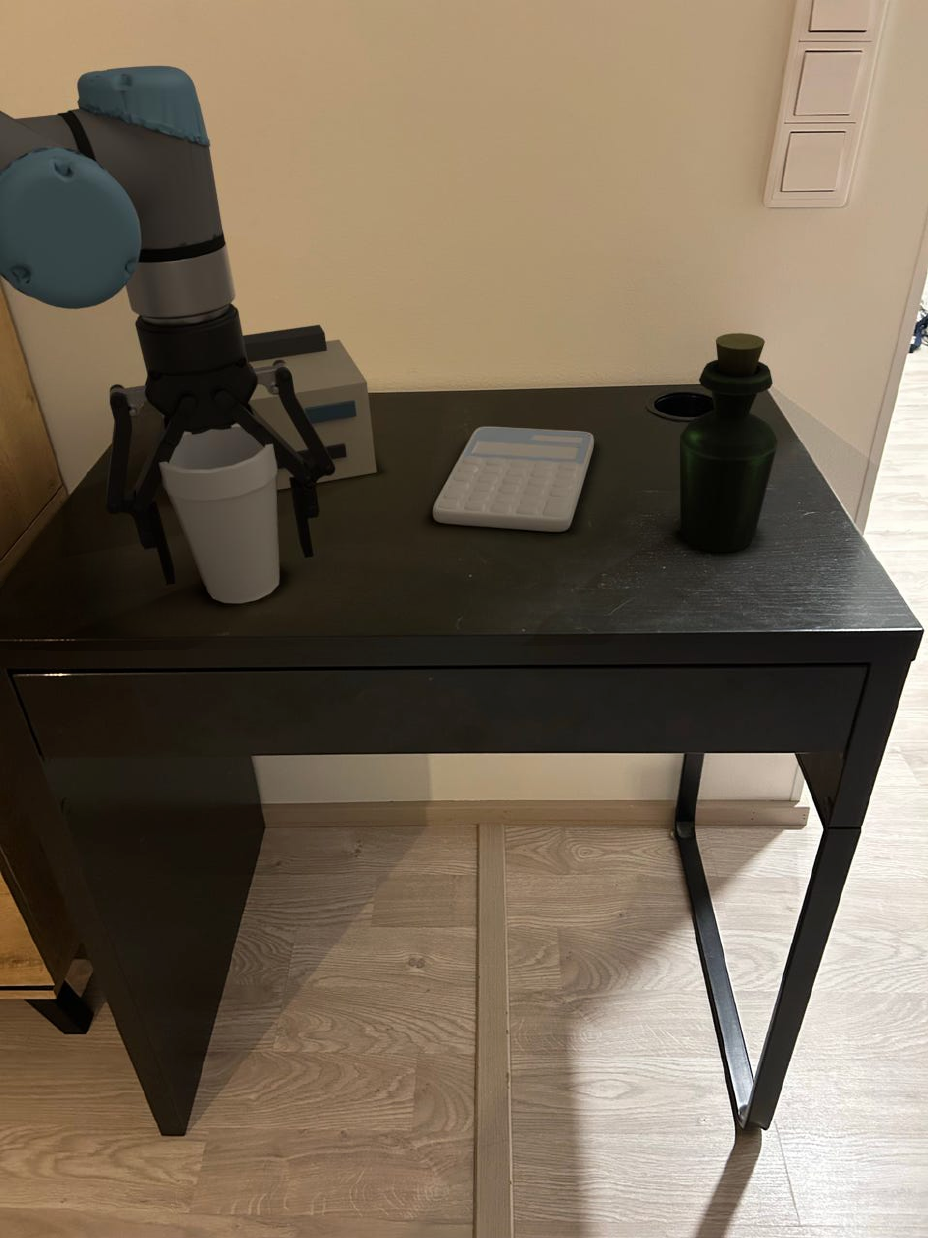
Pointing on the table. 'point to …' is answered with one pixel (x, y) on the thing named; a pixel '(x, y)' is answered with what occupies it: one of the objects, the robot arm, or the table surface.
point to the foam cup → (227, 510)
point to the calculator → (516, 479)
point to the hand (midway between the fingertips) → (239, 563)
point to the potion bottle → (727, 451)
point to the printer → (316, 398)
